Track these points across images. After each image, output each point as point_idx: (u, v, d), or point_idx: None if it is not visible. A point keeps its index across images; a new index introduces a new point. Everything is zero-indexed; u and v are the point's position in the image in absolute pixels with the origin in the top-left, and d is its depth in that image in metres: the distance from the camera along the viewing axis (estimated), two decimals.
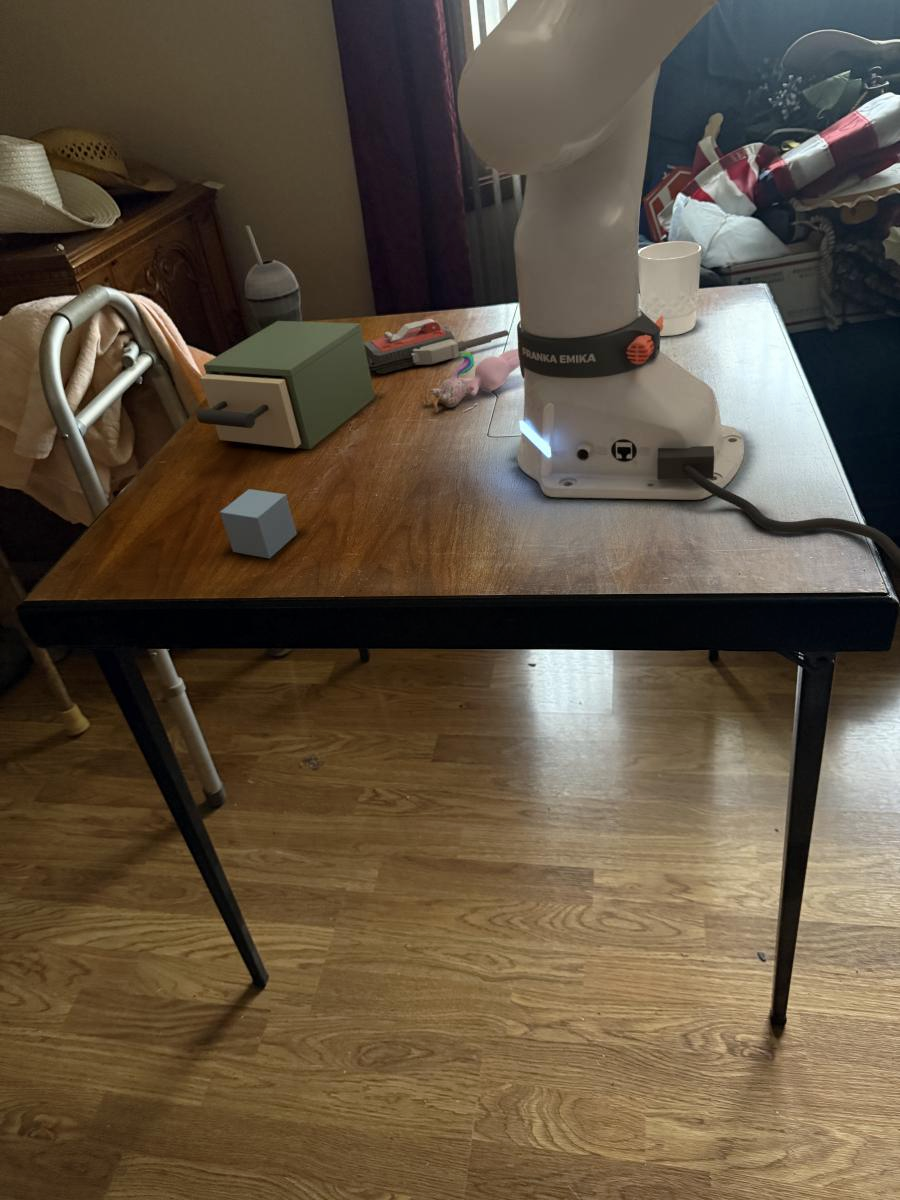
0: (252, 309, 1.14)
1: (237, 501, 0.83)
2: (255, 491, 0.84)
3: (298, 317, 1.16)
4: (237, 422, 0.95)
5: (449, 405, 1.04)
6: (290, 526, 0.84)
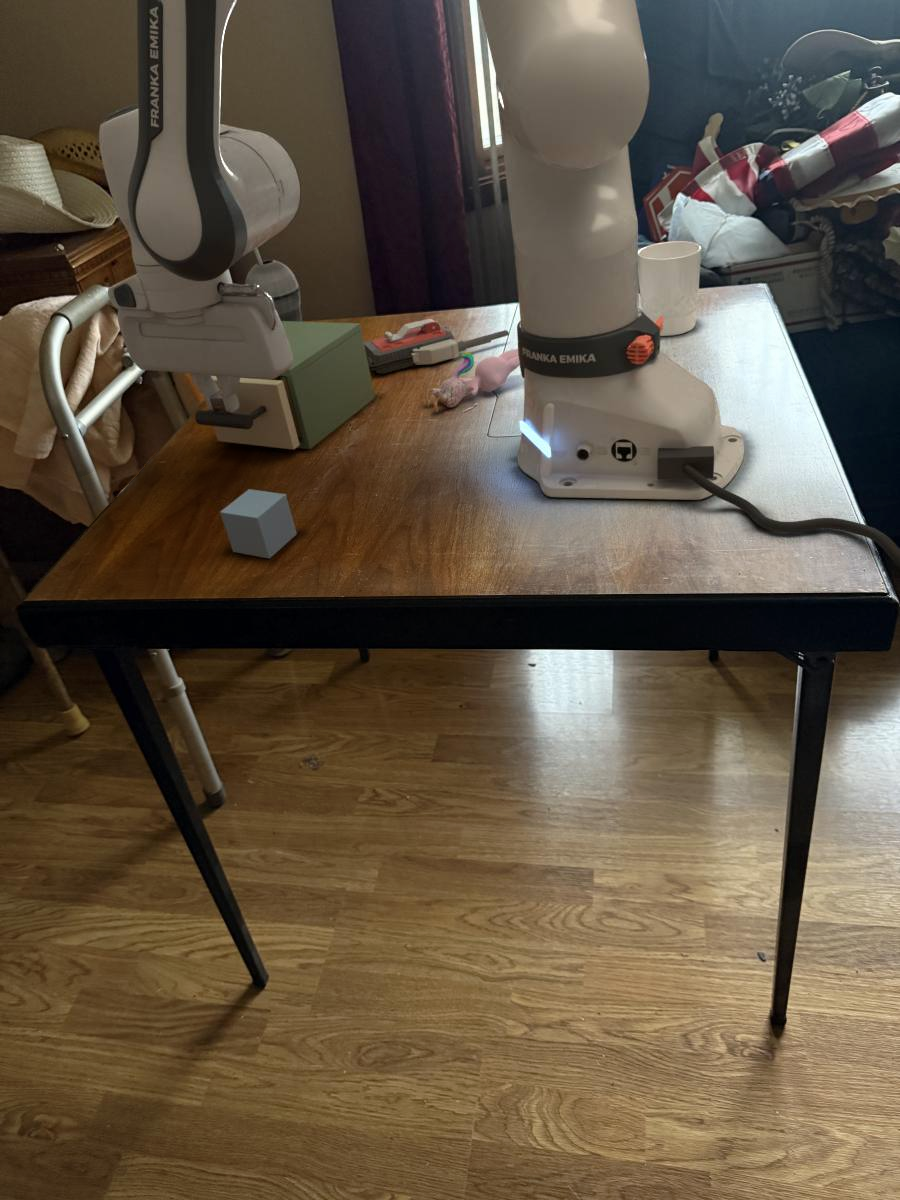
0: None
1: (237, 501, 0.83)
2: (255, 491, 0.84)
3: (298, 317, 1.16)
4: (235, 423, 0.95)
5: (449, 405, 1.04)
6: (290, 526, 0.84)
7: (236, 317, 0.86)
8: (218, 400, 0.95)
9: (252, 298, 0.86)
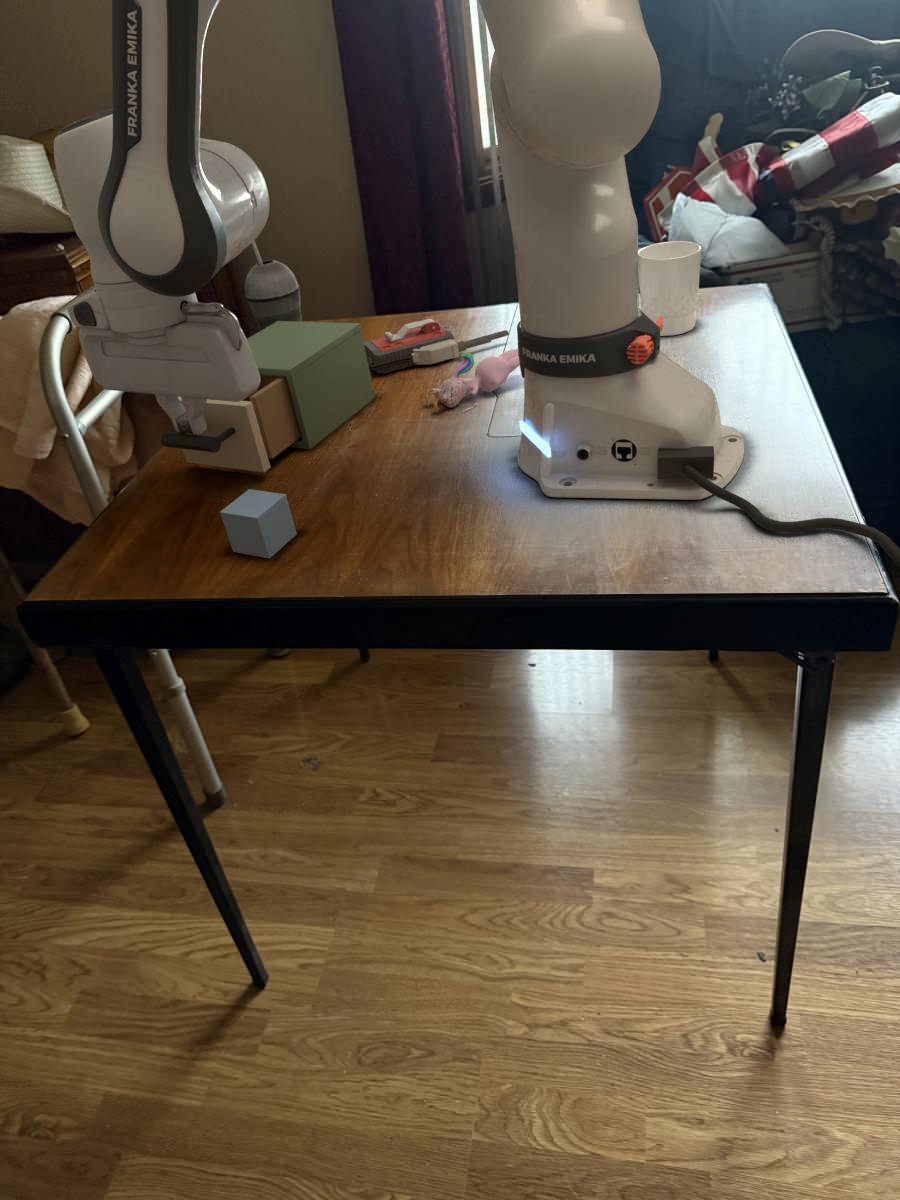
0: (252, 309, 1.14)
1: (237, 501, 0.83)
2: (255, 491, 0.84)
3: (298, 317, 1.16)
4: (202, 446, 0.91)
5: (449, 405, 1.04)
6: (290, 526, 0.84)
7: (199, 337, 0.82)
8: (184, 422, 0.91)
9: (216, 318, 0.82)
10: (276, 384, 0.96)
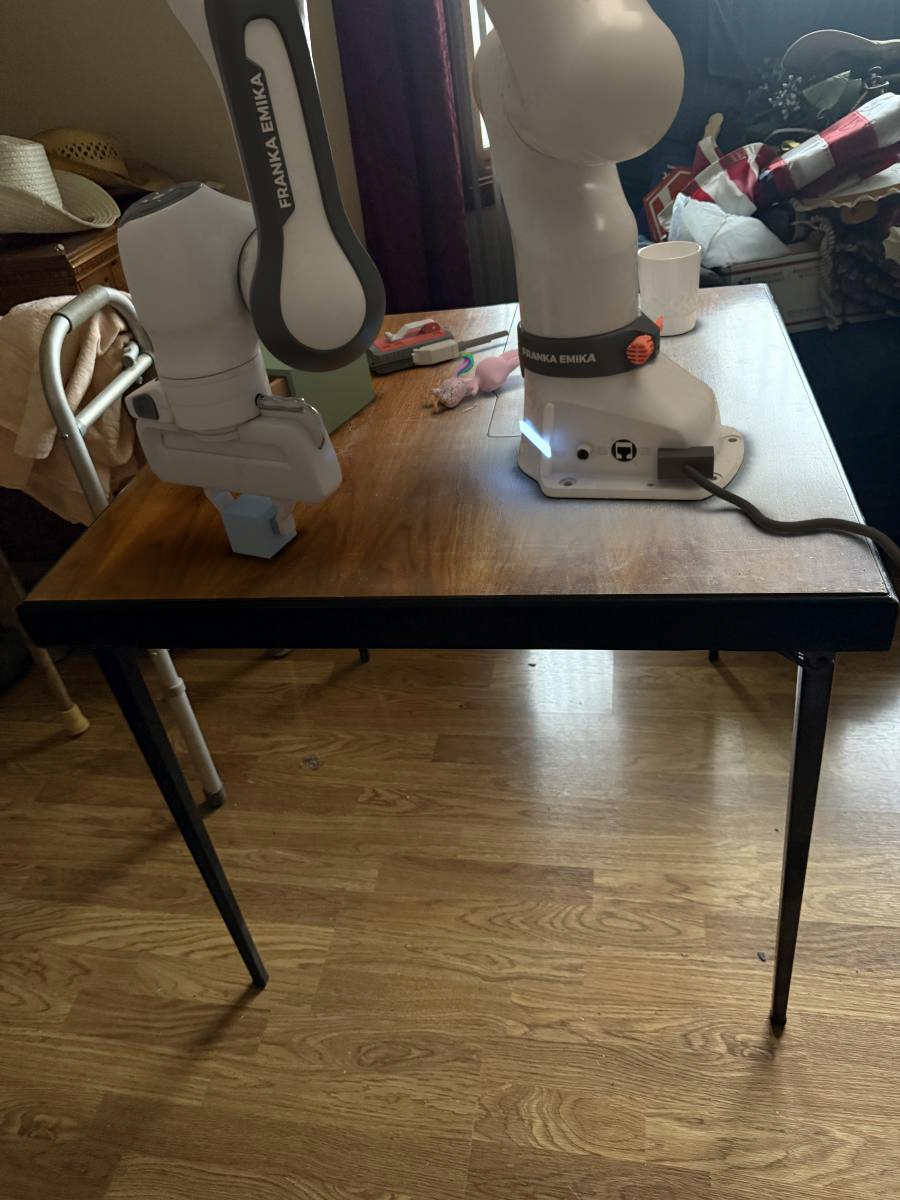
0: None
1: (237, 501, 0.83)
2: None
3: None
4: None
5: (449, 405, 1.04)
6: None
7: (278, 436, 0.73)
8: (271, 522, 0.81)
9: (297, 414, 0.73)
10: (277, 384, 0.96)
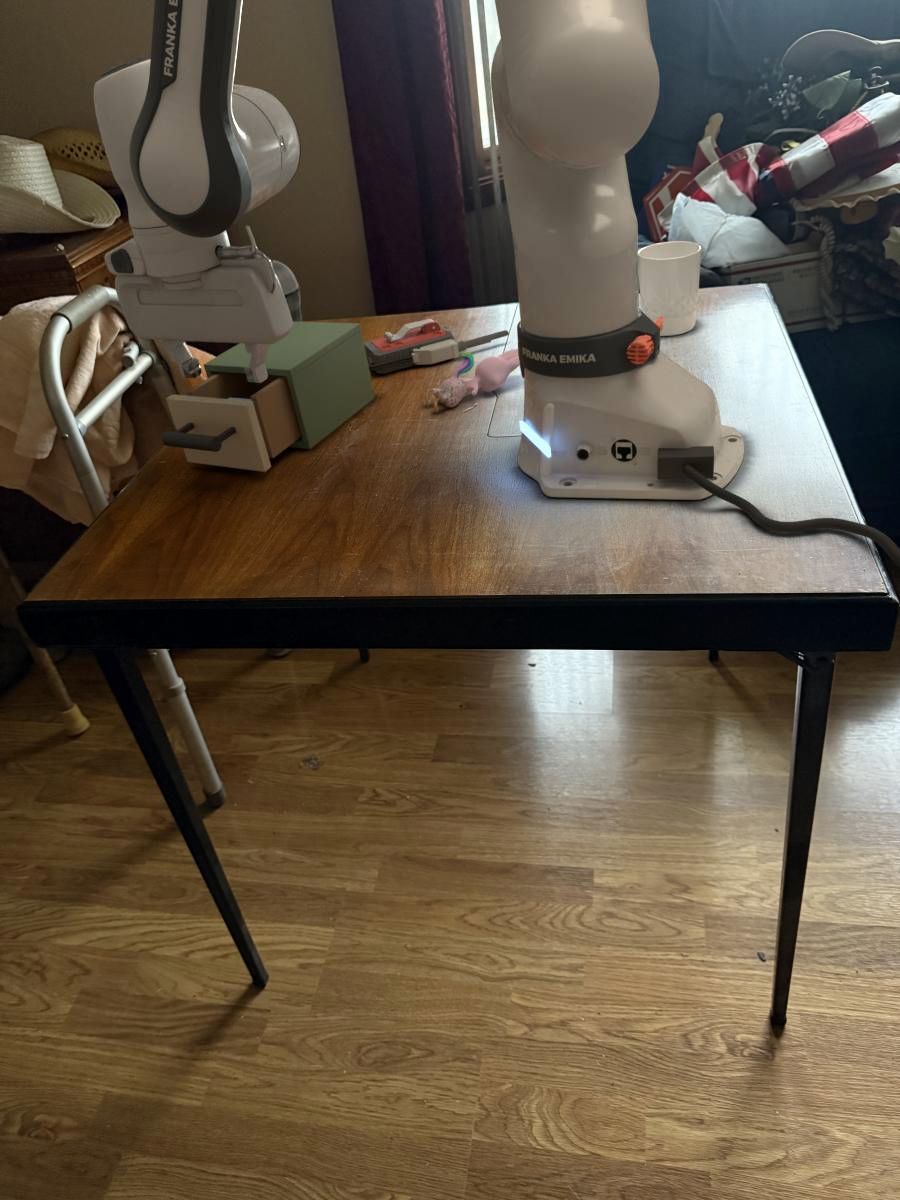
0: None
1: None
2: (235, 398, 0.99)
3: (298, 317, 1.16)
4: (203, 445, 0.91)
5: (449, 405, 1.04)
6: None
7: (234, 280, 0.85)
8: (246, 370, 0.92)
9: (251, 260, 0.84)
10: (277, 384, 0.96)
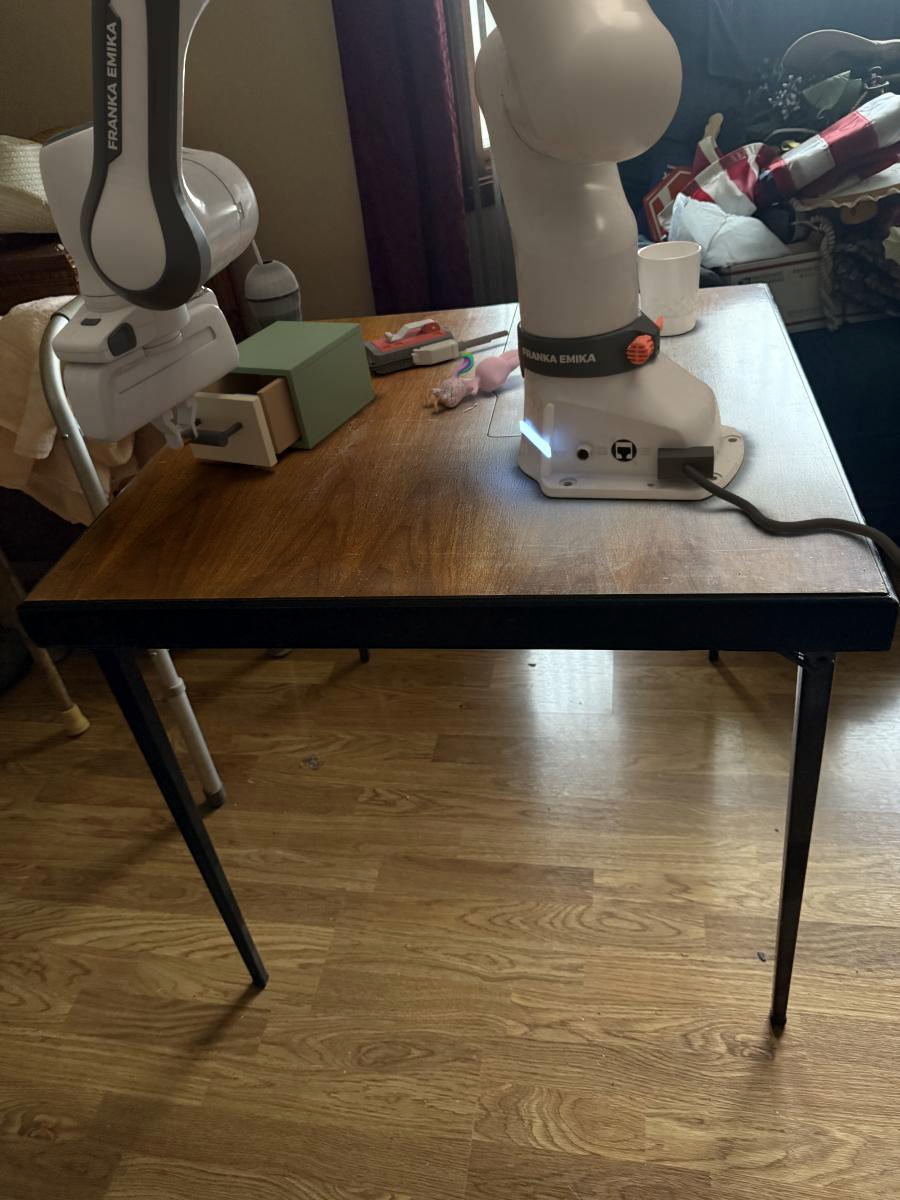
0: (252, 309, 1.14)
1: None
2: (241, 394, 1.00)
3: (298, 317, 1.16)
4: (210, 440, 0.92)
5: (449, 405, 1.04)
6: None
7: (208, 315, 0.90)
8: (188, 429, 0.91)
9: (202, 297, 0.90)
10: (283, 380, 0.97)
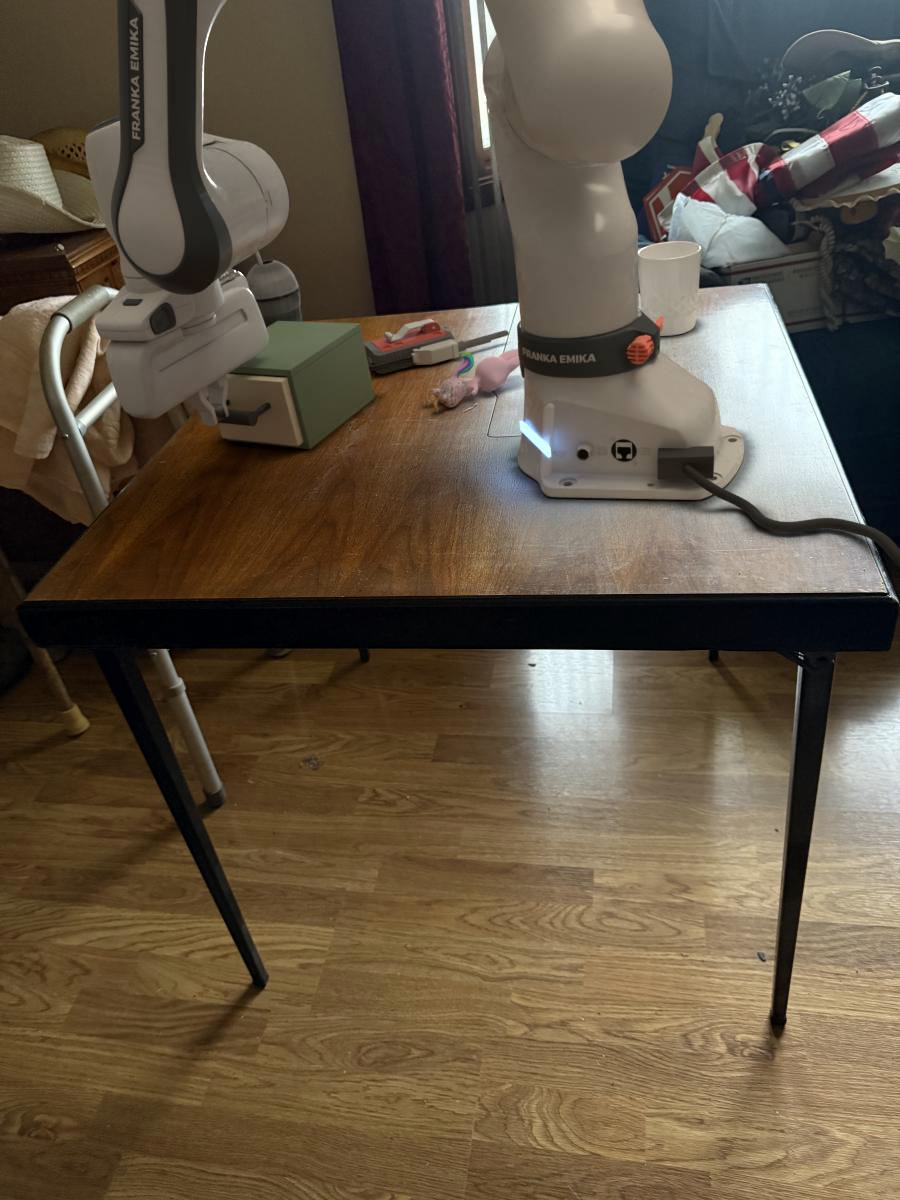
0: None
1: None
2: None
3: (298, 317, 1.16)
4: (240, 420, 0.96)
5: (449, 405, 1.04)
6: None
7: (241, 298, 0.93)
8: (219, 409, 0.95)
9: (234, 281, 0.94)
10: None
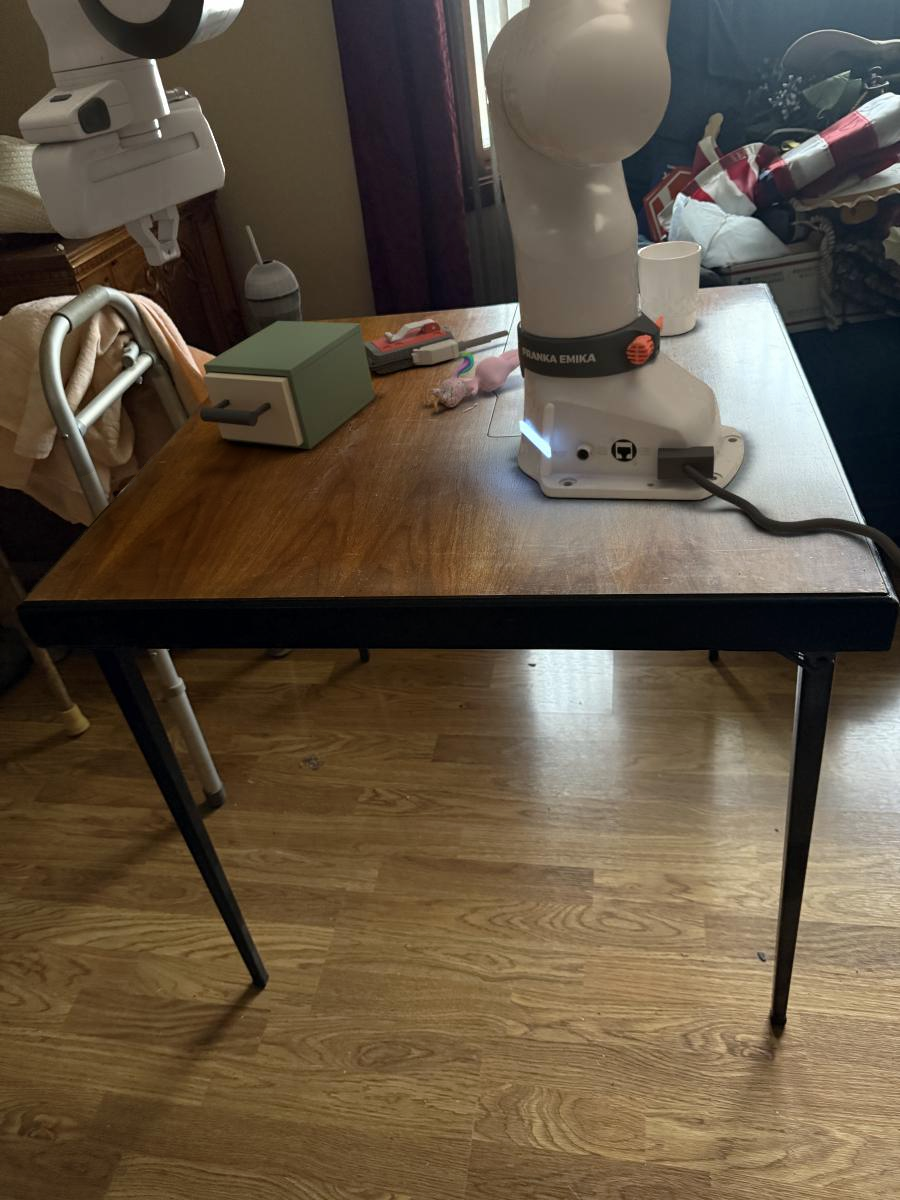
0: (252, 309, 1.14)
1: None
2: None
3: (298, 317, 1.16)
4: (240, 420, 0.96)
5: (449, 405, 1.04)
6: None
7: (191, 119, 0.84)
8: (169, 244, 0.85)
9: (185, 101, 0.84)
10: None
